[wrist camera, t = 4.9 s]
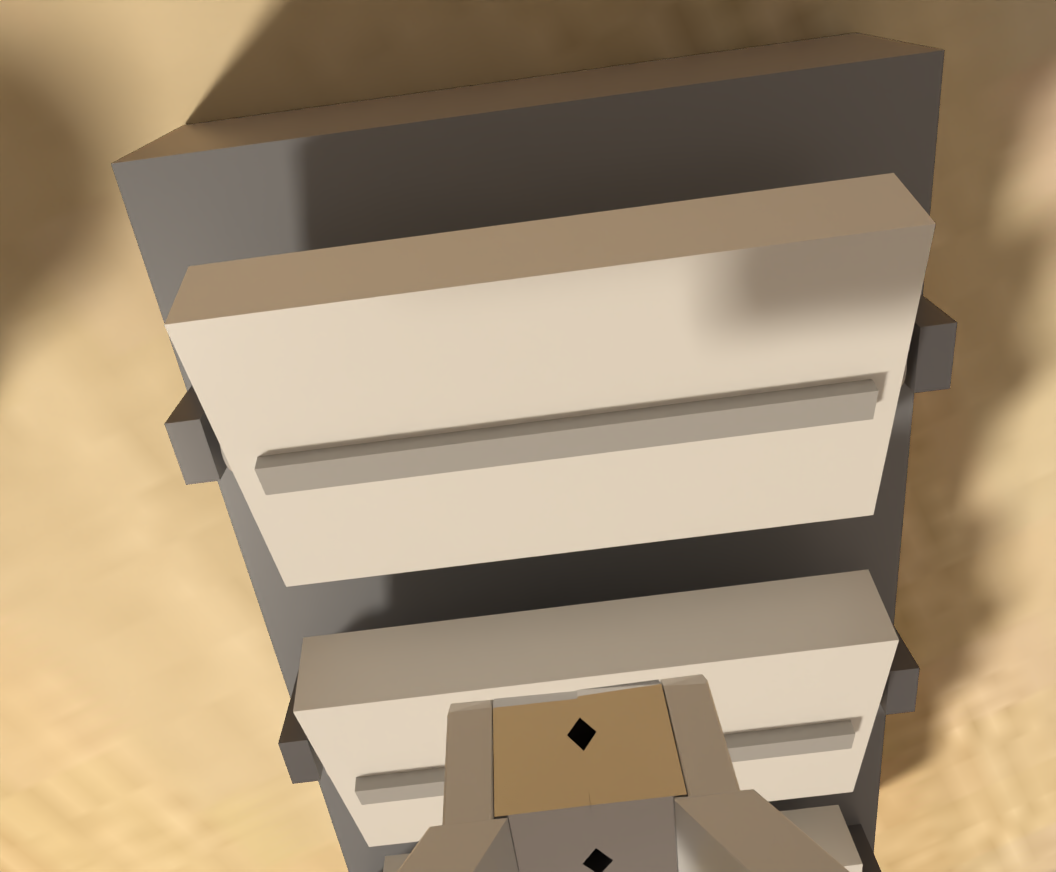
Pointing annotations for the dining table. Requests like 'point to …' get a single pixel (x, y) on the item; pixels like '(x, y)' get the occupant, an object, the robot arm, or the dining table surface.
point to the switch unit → (534, 194)
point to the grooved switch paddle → (814, 822)
